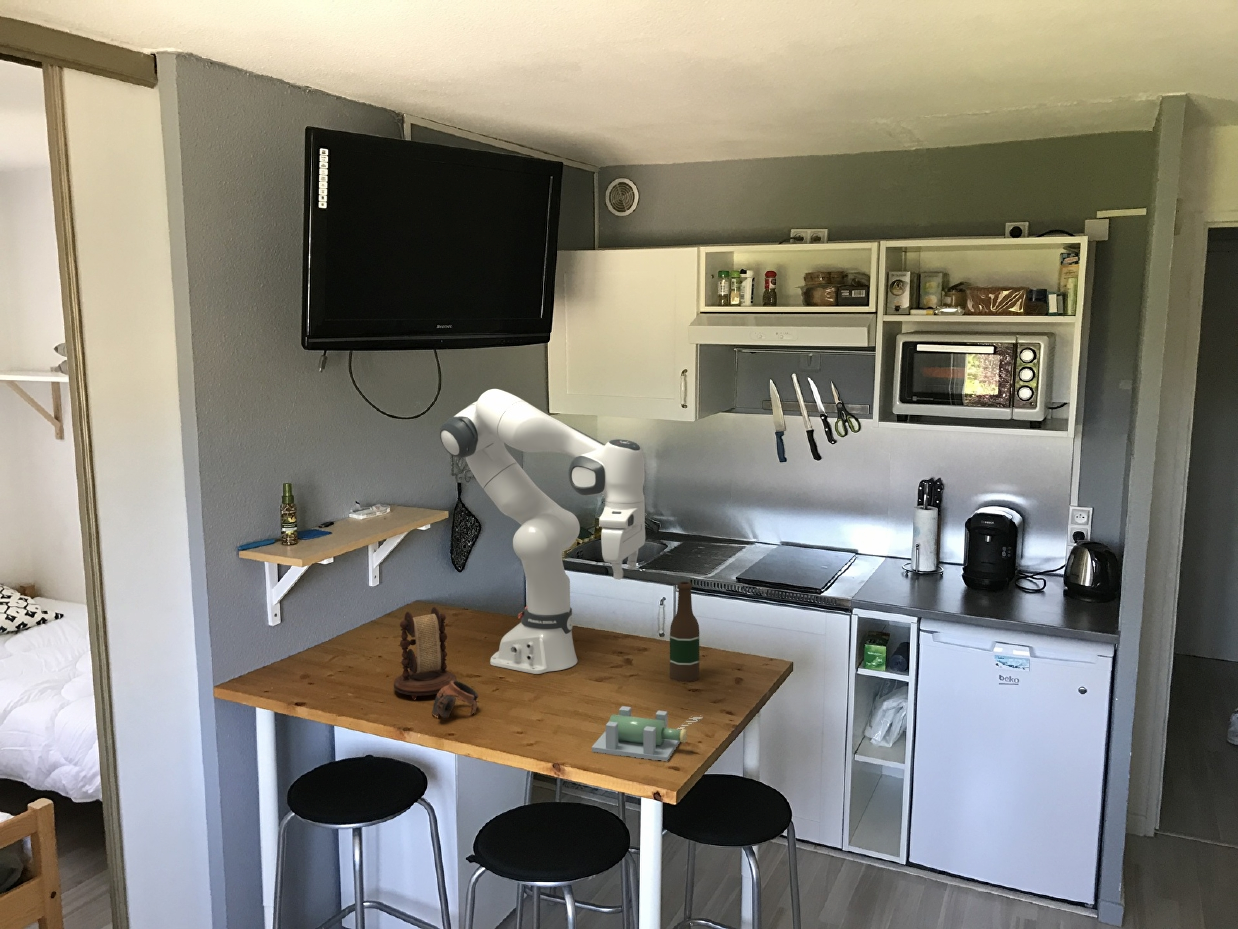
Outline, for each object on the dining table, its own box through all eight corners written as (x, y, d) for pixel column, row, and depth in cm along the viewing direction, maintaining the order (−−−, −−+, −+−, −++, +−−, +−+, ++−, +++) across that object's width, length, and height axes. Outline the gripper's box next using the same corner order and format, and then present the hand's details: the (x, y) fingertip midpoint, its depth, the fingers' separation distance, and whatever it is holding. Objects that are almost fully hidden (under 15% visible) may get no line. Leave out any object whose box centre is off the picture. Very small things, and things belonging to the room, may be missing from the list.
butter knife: (706, 716, 220) (694, 714, 222) (649, 755, 200) (637, 752, 202) (706, 718, 220) (694, 715, 222) (649, 757, 200) (637, 754, 202)
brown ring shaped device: (436, 707, 228) (454, 675, 229) (470, 728, 226) (488, 696, 227) (417, 713, 217) (435, 680, 217) (453, 736, 215) (471, 702, 215)
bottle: (608, 743, 204) (607, 720, 204) (615, 733, 209) (615, 710, 208) (682, 752, 199) (682, 729, 199) (688, 742, 204) (688, 719, 203)
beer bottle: (663, 679, 243) (663, 584, 240) (676, 670, 250) (676, 577, 247) (692, 684, 240) (693, 588, 236) (705, 674, 246) (705, 580, 243)
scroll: (407, 706, 227) (404, 622, 225) (385, 687, 240) (381, 607, 237) (466, 693, 235) (464, 611, 233) (441, 675, 248) (439, 597, 245)
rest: (591, 751, 202) (591, 723, 202) (609, 731, 213) (609, 704, 212) (667, 762, 197) (667, 733, 197) (681, 740, 208) (681, 713, 207)
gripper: (625, 504, 231) (626, 562, 233) (596, 520, 212) (596, 583, 214) (651, 505, 229) (651, 564, 231) (624, 522, 210) (624, 585, 212)
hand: (625, 573), depth 222 cm, fingers open, 8 cm apart
